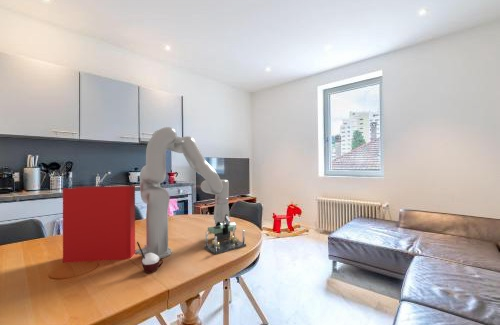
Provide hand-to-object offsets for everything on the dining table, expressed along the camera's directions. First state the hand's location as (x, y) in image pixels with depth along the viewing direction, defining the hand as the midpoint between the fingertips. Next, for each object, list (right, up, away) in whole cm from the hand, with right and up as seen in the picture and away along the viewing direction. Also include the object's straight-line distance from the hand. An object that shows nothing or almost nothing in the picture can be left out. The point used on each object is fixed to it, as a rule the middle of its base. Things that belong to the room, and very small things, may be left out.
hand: (221, 232), depth 130 cm
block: (0, -3, 0) cm, 3 cm away
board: (0, +1, 0) cm, 1 cm away
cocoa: (-24, -3, -39) cm, 46 cm away
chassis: (+4, -3, -14) cm, 14 cm away
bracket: (0, -4, +19) cm, 19 cm away
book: (-52, -4, -25) cm, 58 cm away
